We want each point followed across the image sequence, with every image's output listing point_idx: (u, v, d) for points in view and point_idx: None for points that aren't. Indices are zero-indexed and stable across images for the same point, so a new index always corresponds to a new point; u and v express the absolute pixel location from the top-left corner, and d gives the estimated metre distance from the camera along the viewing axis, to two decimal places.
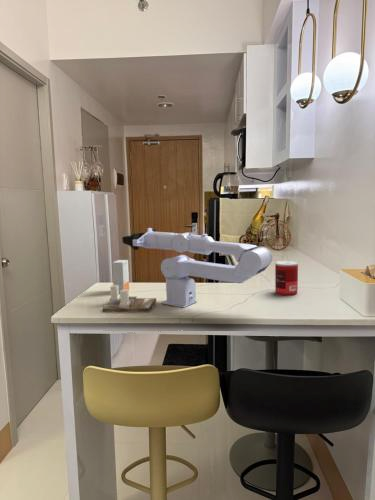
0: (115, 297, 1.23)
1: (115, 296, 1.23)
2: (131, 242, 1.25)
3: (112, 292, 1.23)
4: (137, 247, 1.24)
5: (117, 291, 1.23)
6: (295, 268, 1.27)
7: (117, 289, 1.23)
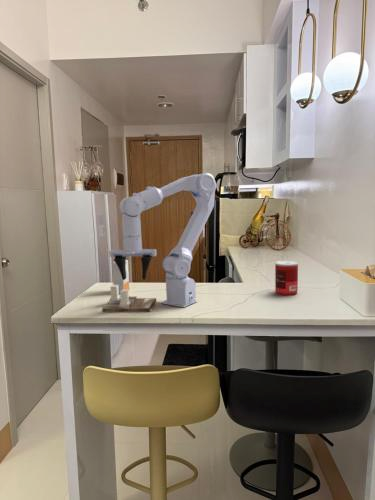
0: (115, 297, 1.23)
1: (115, 296, 1.23)
2: None
3: (112, 292, 1.23)
4: None
5: (117, 291, 1.23)
6: (295, 268, 1.27)
7: (117, 289, 1.23)
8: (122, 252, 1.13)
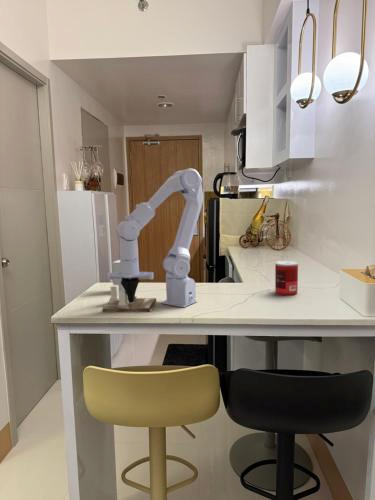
0: (115, 297, 1.23)
1: (115, 296, 1.23)
2: None
3: (112, 292, 1.23)
4: None
5: (117, 291, 1.23)
6: (295, 268, 1.27)
7: (117, 289, 1.23)
8: (119, 275, 1.14)
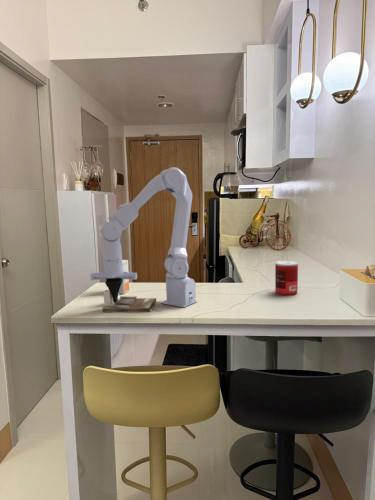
0: None
1: None
2: None
3: None
4: None
5: None
6: (295, 268, 1.27)
7: None
8: (103, 276, 1.14)
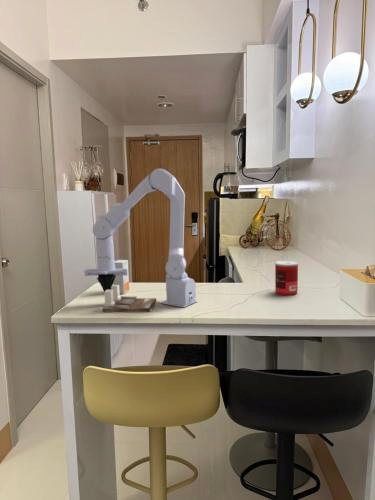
0: (116, 297, 1.23)
1: (116, 296, 1.23)
2: None
3: (113, 292, 1.23)
4: None
5: (118, 291, 1.23)
6: (295, 268, 1.27)
7: (118, 289, 1.23)
8: (96, 272, 1.21)
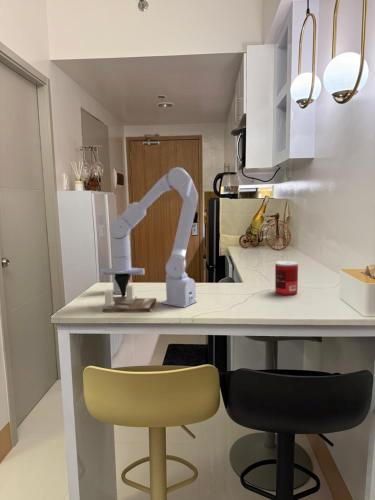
0: (131, 296, 1.22)
1: (131, 296, 1.22)
2: None
3: (128, 292, 1.22)
4: None
5: (132, 291, 1.23)
6: (295, 268, 1.27)
7: (132, 289, 1.23)
8: (112, 271, 1.20)
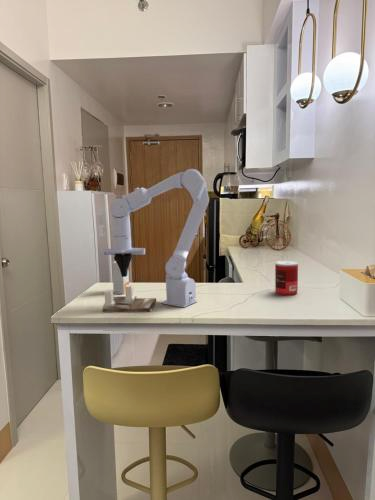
0: (130, 296, 1.22)
1: (130, 296, 1.22)
2: None
3: (127, 292, 1.22)
4: None
5: (132, 291, 1.23)
6: (295, 268, 1.27)
7: (132, 289, 1.23)
8: (113, 251, 1.20)
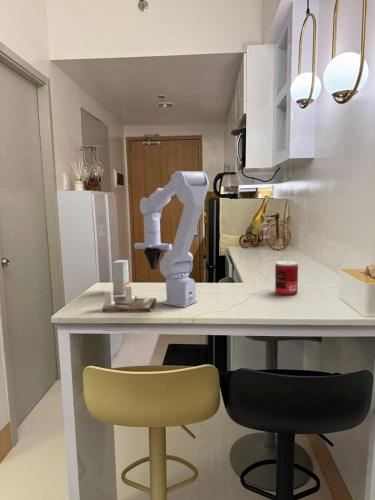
0: (130, 296, 1.22)
1: (130, 296, 1.22)
2: (156, 257, 1.34)
3: (127, 292, 1.22)
4: None
5: (132, 291, 1.23)
6: (295, 268, 1.27)
7: (132, 289, 1.23)
8: (143, 245, 1.32)
